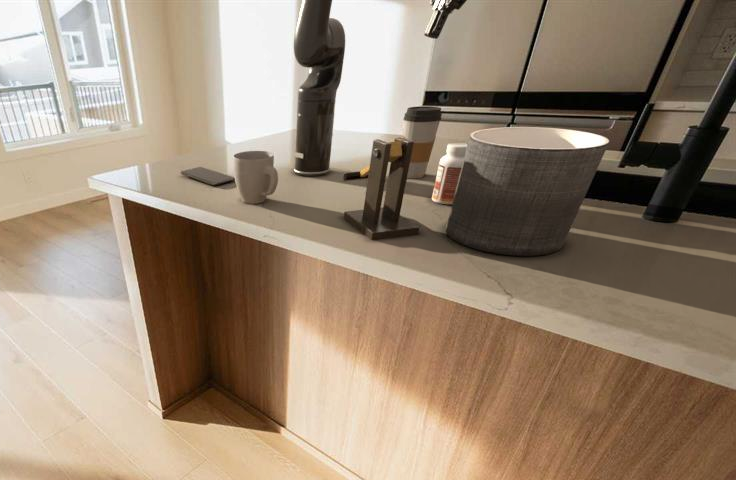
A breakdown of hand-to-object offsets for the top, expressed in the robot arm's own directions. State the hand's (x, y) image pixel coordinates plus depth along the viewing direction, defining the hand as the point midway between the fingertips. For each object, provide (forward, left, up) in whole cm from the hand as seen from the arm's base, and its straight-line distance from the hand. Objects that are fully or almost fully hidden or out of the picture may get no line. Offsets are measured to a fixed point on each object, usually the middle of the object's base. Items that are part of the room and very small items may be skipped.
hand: (430, 37), depth 77 cm
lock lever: (+10, -12, -20) cm, 25 cm away
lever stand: (+14, -12, -29) cm, 34 cm away
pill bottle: (+5, +8, -29) cm, 30 cm away
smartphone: (-32, -38, -29) cm, 57 cm away
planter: (+25, +5, -29) cm, 39 cm away
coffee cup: (-16, +12, -29) cm, 35 cm away
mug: (-8, -30, -29) cm, 43 cm away
